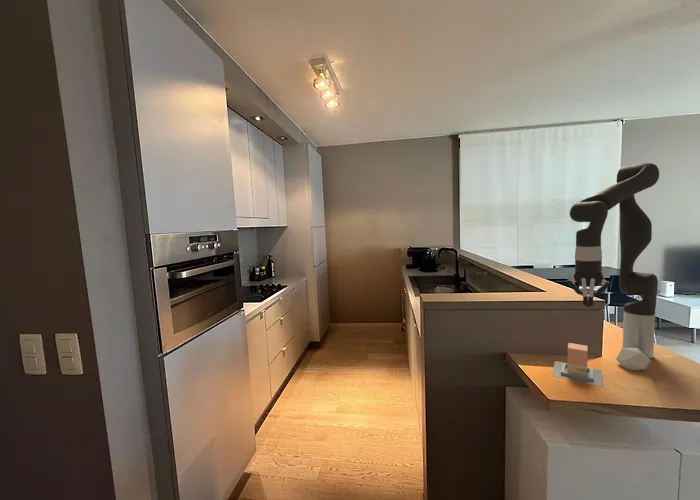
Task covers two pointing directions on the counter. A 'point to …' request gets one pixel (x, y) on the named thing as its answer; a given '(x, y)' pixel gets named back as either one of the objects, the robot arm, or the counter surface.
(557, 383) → the counter surface
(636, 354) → the grey faceted rock
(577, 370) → the base block
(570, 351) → the top block
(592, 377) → the base plate
